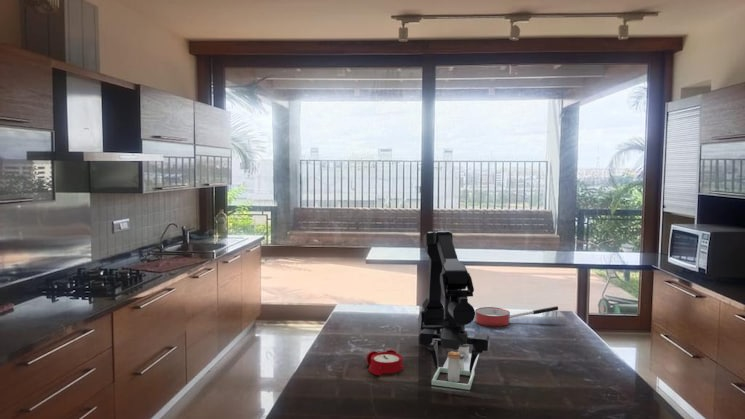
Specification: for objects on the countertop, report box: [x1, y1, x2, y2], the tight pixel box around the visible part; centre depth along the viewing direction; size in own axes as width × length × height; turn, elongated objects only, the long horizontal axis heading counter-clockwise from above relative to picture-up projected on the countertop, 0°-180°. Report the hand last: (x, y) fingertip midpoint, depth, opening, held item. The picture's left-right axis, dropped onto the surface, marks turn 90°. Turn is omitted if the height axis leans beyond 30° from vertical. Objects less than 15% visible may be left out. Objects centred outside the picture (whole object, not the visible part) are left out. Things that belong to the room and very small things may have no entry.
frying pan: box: [474, 305, 559, 328], centre depth 202 cm, size 32×13×6 cm, turn 97°
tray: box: [431, 366, 475, 394], centre depth 142 cm, size 10×10×2 cm
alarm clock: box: [366, 349, 405, 377], centre depth 153 cm, size 10×6×15 cm
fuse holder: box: [442, 344, 480, 371], centre depth 156 cm, size 9×17×5 cm, turn 162°
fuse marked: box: [447, 351, 460, 383], centre depth 142 cm, size 3×3×8 cm
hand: (453, 369), depth 142 cm, fingers open, 9 cm apart
